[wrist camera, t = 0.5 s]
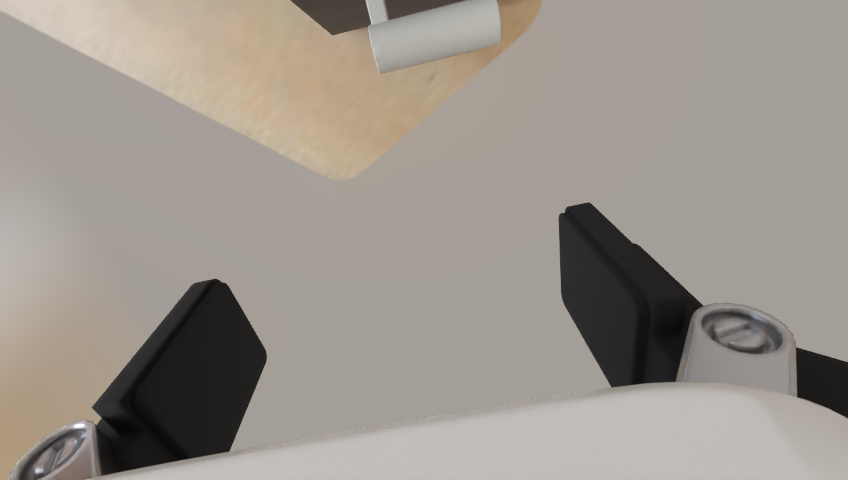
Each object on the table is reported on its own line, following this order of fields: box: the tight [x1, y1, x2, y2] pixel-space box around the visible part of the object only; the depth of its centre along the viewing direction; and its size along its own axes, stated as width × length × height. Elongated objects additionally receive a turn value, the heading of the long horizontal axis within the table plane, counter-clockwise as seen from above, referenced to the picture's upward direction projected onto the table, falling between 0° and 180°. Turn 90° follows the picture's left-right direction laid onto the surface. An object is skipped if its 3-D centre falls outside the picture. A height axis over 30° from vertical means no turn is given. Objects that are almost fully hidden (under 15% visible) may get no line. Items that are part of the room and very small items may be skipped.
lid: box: [291, 0, 502, 73], centre depth 20 cm, size 15×13×5 cm
